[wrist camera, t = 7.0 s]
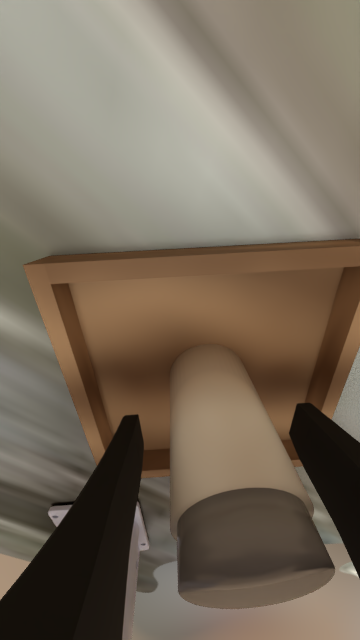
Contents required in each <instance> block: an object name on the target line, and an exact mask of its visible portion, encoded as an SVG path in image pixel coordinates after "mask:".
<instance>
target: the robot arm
mask: <svg viewBox="0 0 360 640" xmlns="http://www.w3.org/2000/svg"><path fill="white" fill-rule="evenodd" d="M289 435H290V438H291V440H292V443H293V445H294V448H295V450H296V452H297V455H298V457H299V459H300V461H301V463H302V465H303V467H304V469H305V470H306V472H307V474H308V476H309V478H310V480H311V482H312V483H313V485H314V487H315V489H316V491H317V493H318V494H319V496H320V498H321V500H322V502H323V504H324V505H325V507H326V509H327V511H328V513H329V515H330V516H331V518H332V520H333V522H334V524H335V526H336V528H337V530H338V532H339V534H340V536H341V538H342V541H343V543H344V545H345V547H346V549H347V552H348V554H349V556H350V558H351V560H352V563H353V565H354V567H355V569H356V571H357V574H358V576H359V578H360V443H359V442H358V441H357V440H356V439H354V438H353V437H352V436H351V435H349V434H348V433H347V432H346V431H344V430H343V429H342V428H341V427H339V426H338V425H337V424H336V423H335V422H333V421H332V420H331V419H330V418H328V417H327V416H326V415H325V414H324V413H322V412H321V411H320V410H319V409H317V408H316V407H315V406H314V405H313V404H311V403H297V405H296V408H295V412H294V416H293V419H292V423H291V427H290V431H289ZM143 452H144V441H143V436H142V430H141V425H140V420H139V415H138V414H136V415H125V416H124V417H123V418H122V420H121V422H120V424H119V426H118V428H117V430H116V432H115V434H114V436H113V438H112V440H111V442H110V444H109V446H108V448H107V449H106V451H105V453H104V455H103V456H102V458H101V460H100V462H99V463H98V465H97V467H96V469H95V470H94V472H93V474H92V475H91V477H90V478H89V480H88V482H87V483H86V485H85V486H84V488H83V490H82V491H81V493H80V494H79V496H78V497H77V499H76V500H75V502H74V503H73V505H62V506H52V507H50V509H49V511H48V515H49V516H50V518H51V519H52V521H53V522H54V524H55V525H56V527H57V528H56V529H55V531H54V532H53V533H52V535H51V536H50V537H49V539H48V540H47V541H46V543H45V544H44V545H43V547H42V548H41V549H40V551H39V552H38V553H37V555H36V556H35V557H34V559H33V560H32V561H31V563H30V564H29V565H28V567H27V568H26V569H25V570H24V572H23V573H22V574H21V576H20V577H19V578H18V579H17V580H16V582H15V583H14V584H13V585H12V587H11V588H10V589H9V590H8V591H7V593H6V594H5V595H4V596H3V598H2V599H1V600H0V640H131V639H132V628H133V617H134V606H135V596H136V585H137V574H138V563H139V552H140V551H142V550H148V549H149V540H148V537H147V533H146V529H145V525H144V521H143V517H142V513H141V509H140V505H139V502H138V501H137V500H138V493H139V487H140V481H141V474H142V466H143Z"/></svg>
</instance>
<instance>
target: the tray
mask: <svg viewBox="0 0 360 640" xmlns="http://www.w3.org/2000/svg"><path fill="white" fill-rule="evenodd" d="M23 267H24V270H25V273H26V275H27V278H28V281H29V283H30V286H31V289H32V292H33V294H34V297H35V300H36V302H37V305H38V308H39V311H40V313H41V316H42V319H43V321H44V324H45V327H46V329H47V332H48V335H49V338H50V340H51V343H52V346H53V348H54V351H55V354H56V357H57V359H58V362H59V365H60V367H61V370H62V373H63V375H64V378H65V381H66V384H67V386H68V389H69V392H70V394H71V397H72V400H73V402H74V405H75V408H76V411H77V413H78V416H79V419H80V421H81V424H82V427H83V430H84V432H85V435H86V438H87V440H88V443H89V446H90V448H91V451H92V454H93V457H94V459H95V462H96V465H98V463H99V462H100V460H101V458H102V456H103V455H104V453H105V451H106V449H107V448H108V446H109V444H110V442H111V440H112V438H113V436H114V434H115V432H116V430H117V428H118V426H119V424H120V422H121V420H122V418H123V417H124V416H125V415H136V414H138V415H139V420H140V425H141V430H142V436H143V441H144V452H143V466H142V474H141V478H149V477H163V476H170V370H171V367H172V365H173V363H174V362H175V360H176V359H177V358H178V357H179V356H180V355H181V354H182V353H183V352H185V351H187V350H188V349H190V348H193V347H195V346H199V345H205V344H216V345H221V346H224V347H227V348H229V349H231V350H232V351H234V352H235V353H236V354H237V355H238V356H239V358H240V359H241V361H242V363H243V365H244V367H245V369H246V371H247V373H248V375H249V377H250V379H251V381H252V383H253V385H254V387H255V389H256V391H257V393H258V395H259V397H260V399H261V401H262V403H263V405H264V407H265V409H266V411H267V413H268V415H269V417H270V419H271V421H272V423H273V425H274V427H275V429H276V431H277V433H278V435H279V437H280V439H281V441H282V443H283V445H284V447H285V449H286V451H287V453H288V455H289V457H290V459H291V461H292V463H293V465H294V467H299V466H303V465H302V463H301V461H300V459H299V457H298V455H297V452H296V450H295V448H294V445H293V443H292V440H291V438H290V435H289V431H290V427H291V423H292V419H293V416H294V412H295V408H296V405H297V403H311V404H313V405H314V406H315V407H316V408H317V409H319V410H320V411H321V412H322V413H324V414H325V415H326V416H327V417H328V418H330V419H332V417H333V414H334V411H335V409H336V406H337V404H338V401H339V398H340V396H341V393H342V391H343V388H344V385H345V383H346V380H347V378H348V375H349V372H350V370H351V367H352V365H353V362H354V359H355V357H356V354H357V352H358V349H359V346H360V239H345V240H327V241H310V242H292V243H274V244H256V245H238V246H220V247H202V248H184V249H166V250H148V251H130V252H112V253H94V254H76V255H59V256H48V257H45V258H42V259H39V260H36V261H33V262H30V263H27V264H24V265H23Z"/></svg>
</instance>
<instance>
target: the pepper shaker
mask: <svg viewBox="0 0 360 640" xmlns="http://www.w3.org/2000/svg"><path fill="white" fill-rule="evenodd" d="M313 514H314V507H313V504H312V502H311V500H310V498H309V496H308V494H307V492H306V490H305V488H304V486H303V484H302V482H301V480H300V478H299V476H298V474H297V471H296V469H295V467H294V465H293V463H292V461H291V459H290V457H289V455H288V453H287V451H286V449H285V447H284V445H283V443H282V441H281V439H280V437H279V435H278V433H277V431H276V429H275V427H274V425H273V423H272V421H271V419H270V417H269V415H268V413H267V411H266V409H265V407H264V405H263V403H262V401H261V399H260V397H259V395H258V393H257V391H256V389H255V387H254V385H253V383H252V381H251V379H250V377H249V375H248V373H247V371H246V369H245V367H244V365H243V363H242V361H241V359H240V358H239V356H238V355H237V354H236V353H235V352H234V351H232V350H231V349H229V348H227V347H224V346H221V345H216V344H205V345H199V346H195V347H193V348H190V349H188V350H187V351H185V352H183V353H182V354H181V355H180V356H179V357H178V358H177V359H176V360H175V362H174V363H173V365H172V367H171V370H170V531H171V534H172V536H173V537H174V539H175V540H176V541H177V562H178V592H179V594H180V596H181V597H182V598H183V599H185V600H186V601H188V602H190V603H192V604H195V605H199V606H203V607H210V608H220V609H240V608H241V609H242V608H253V607H261V606H267V605H273V604H278V603H282V602H286V601H290V600H293V599H296V598H299V597H302V596H304V595H307V594H309V593H311V592H314V591H316V590H317V589H319V588H321V587H322V586H324V585H325V584H326V583H328V582H329V581H330V580H331V579H332V577H333V576H334V573H335V567H334V565H333V562H332V560H331V558H330V556H329V554H328V552H327V550H326V547H325V545H324V543H323V541H322V539H321V537H320V535H319V533H318V530H317V528H316V526H315V524H314V522H313V520H312V517H313Z"/></svg>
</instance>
